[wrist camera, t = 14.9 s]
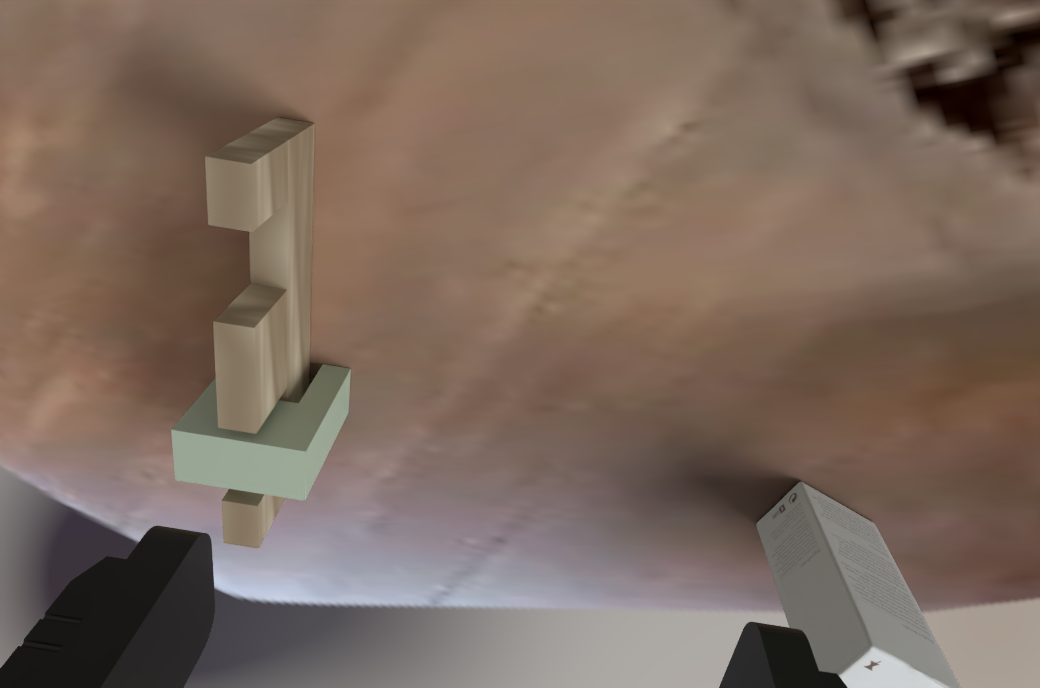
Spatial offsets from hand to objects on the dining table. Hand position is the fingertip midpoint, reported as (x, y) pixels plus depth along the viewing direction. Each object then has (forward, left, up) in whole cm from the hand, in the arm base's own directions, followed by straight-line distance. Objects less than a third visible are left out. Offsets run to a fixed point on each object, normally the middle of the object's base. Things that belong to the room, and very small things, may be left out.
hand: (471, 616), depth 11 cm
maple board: (+12, +10, -28) cm, 32 cm away
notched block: (+12, +15, -28) cm, 34 cm away
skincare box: (-20, +19, -28) cm, 40 cm away
